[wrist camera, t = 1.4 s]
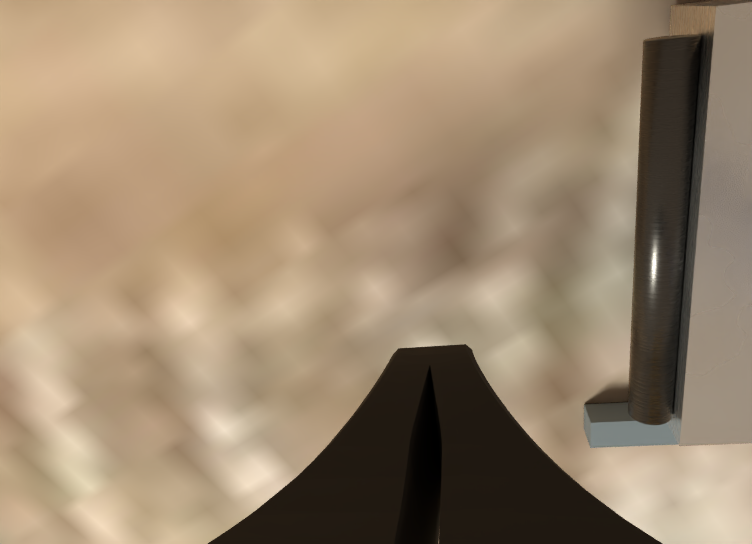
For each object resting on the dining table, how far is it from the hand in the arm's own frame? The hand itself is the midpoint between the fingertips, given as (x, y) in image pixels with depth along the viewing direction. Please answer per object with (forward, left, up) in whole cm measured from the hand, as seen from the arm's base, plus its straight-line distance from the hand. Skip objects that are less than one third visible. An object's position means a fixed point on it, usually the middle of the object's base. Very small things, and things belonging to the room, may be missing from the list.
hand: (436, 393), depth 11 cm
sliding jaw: (-5, -5, -8) cm, 11 cm away
